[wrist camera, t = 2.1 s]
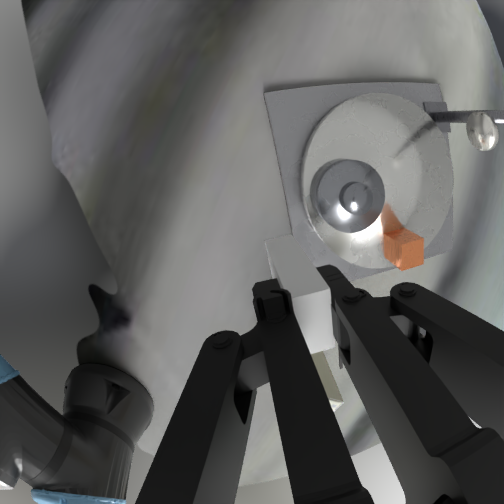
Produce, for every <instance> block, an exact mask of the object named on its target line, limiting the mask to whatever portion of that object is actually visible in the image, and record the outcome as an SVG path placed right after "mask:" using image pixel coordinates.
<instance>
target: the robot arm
mask: <svg viewBox="0 0 504 504" xmlns="http://www.w3.org/2000/svg"><path fill="white" fill-rule="evenodd" d="M264 241H265V246H266V250H267V255H268V260H269V265H270V269H271V274H272V279H270V280H266V281H262V282H257V283H255V285H254V287H253V288H252V291H253V296H254V299H253V305H254V309H255V313H256V317H257V321H258V322H257V324H256V326H255V327H254V328H253V329H252V330H251V331H249V332H247V333H245V334H243V335H241V336H240V335H239V334H238V333H237V332H234V331H227V330H225V331H220V332H217V333H215V334H212V335H211V336H209V337H208V338H207V339H206V340H205V342H204V343H203V346H202V348H201V350H200V352H199V355H198V357H197V359H196V362H195V364H194V366H193V369H192V371H191V373H190V376H189V378H188V380H187V382H186V385H185V387H184V389H183V392H182V394H181V396H180V399H179V401H178V403H177V406H176V408H175V410H174V413H173V415H172V417H171V420H170V422H169V424H168V427H167V429H166V431H165V434H164V436H163V439H162V441H161V443H160V446H159V448H158V450H157V453H156V455H155V457H154V460H153V462H152V465H151V467H150V469H149V472H148V474H147V476H146V479H145V481H144V483H143V486H142V489H141V491H140V493H139V495H138V498H137V500H136V503H135V504H234V502H235V497H236V493H237V488H238V484H239V479H240V474H241V470H242V465H243V460H244V455H245V450H246V445H247V440H248V435H249V430H250V425H251V420H252V415H253V410H254V404H255V399H256V394H257V389H256V388H258V387H260V386H262V385H264V384H266V383H268V382H270V387H271V392H272V397H273V402H274V407H275V412H276V417H277V422H278V426H279V431H280V436H281V441H282V446H283V451H284V456H285V461H286V466H287V470H288V475H289V479H290V485H291V489H292V494H293V499H294V504H374V502H373V499H372V497H371V495H370V494H369V492H368V490H367V489H365V488H364V487H363V486H362V484H361V482H360V480H359V478H358V475H357V472H356V470H355V467H354V464H353V462H352V459H351V456H350V454H349V451H348V448H347V446H346V443H345V440H344V438H343V435H342V433H341V430H340V427H339V425H338V422H337V420H336V417H335V414H334V412H333V409H332V407H331V404H330V402H329V399H328V397H327V394H326V391H325V389H324V386H323V384H322V381H321V379H320V376H319V374H318V371H317V369H316V366H315V364H314V361H313V359H312V356H311V354H313V353H317V352H320V351H324V350H328V349H331V348H334V347H335V339H336V341H337V343H338V349H339V366H340V369H341V368H343V365H342V363H343V364H344V366H345V368H346V370H347V372H348V374H349V376H350V378H351V380H352V382H353V384H354V386H355V388H356V390H357V392H358V394H359V396H360V398H361V400H362V402H363V404H364V406H365V408H366V410H367V413H368V415H369V417H370V419H371V421H372V423H373V425H374V427H375V429H376V432H377V434H378V436H379V438H380V440H381V442H382V444H383V447H384V449H385V451H386V453H387V455H388V457H389V460H390V462H391V464H392V466H393V468H394V471H395V473H396V475H397V477H398V480H399V482H400V484H401V486H402V489H403V491H404V494H405V498H406V504H504V331H502V330H500V329H499V328H497V327H495V326H493V325H492V324H490V323H488V322H486V321H485V320H483V319H481V318H479V317H478V316H476V315H474V314H472V313H470V312H469V311H467V310H465V309H463V308H461V307H459V306H458V305H456V304H454V303H452V302H450V301H448V300H447V299H445V298H443V297H441V296H439V295H437V294H435V293H433V292H432V291H430V290H428V289H426V288H424V287H422V286H420V285H418V284H415V283H409V282H405V283H404V282H403V283H400V284H397V285H395V286H394V287H392V288H391V291H390V296H387V297H372V296H371V295H370V294H369V293H368V292H367V291H366V290H363V289H360V288H354V286H353V285H352V284H351V283H350V282H349V280H348V279H347V278H346V277H345V276H344V275H343V273H342V272H341V271H340V270H339V269H338V268H337V267H335V266H333V265H330V264H328V265H324V266H320V267H316V268H315V266H314V265H313V263H312V262H311V261H310V259H309V258H308V256H307V255H306V254H305V252H304V251H303V249H302V248H301V247H300V245H299V244H298V243H297V241H296V240H295V238H294V237H293V236H292V234H290V235H285V236H281V237H277V238H272V239H268V240H264ZM420 327H421V328H423V329H424V330H426V335H425V336H424V335H422V334H421V333H420ZM19 374H20V373H19V371H18V370H15V369H14V368H13V367H12V366H11V365H10V364H9V363H8V362H7V361H6V360H5V359H4V358H3V357H2V356H1V354H0V490H4V489H5V490H6V489H13V488H14V486H15V484H16V483H17V481H18V479H19V478H20V479H22V480H23V481H25V482H26V483H28V484H29V485H30V486H32V487H33V489H32V490H31V495H32V498H33V500H34V501H35V502H37V503H39V504H125V503H126V500H125V499H126V493H127V486H128V480H129V474H130V468H131V463H132V457H133V452H134V447H135V445H136V443H137V442H138V440H139V439H140V437H141V436H142V434H143V432H144V431H145V430H146V429H147V428H148V426H149V425H150V423H151V420H152V416H153V411H154V405H153V401H152V398H151V397H150V395H149V393H148V392H147V391H146V389H145V388H144V387H143V386H142V385H141V384H140V383H138V382H137V381H136V380H135V379H133V378H132V377H130V376H129V375H127V374H125V373H124V372H122V371H119V370H117V369H115V368H112V367H109V366H106V365H101V364H92V363H89V364H82V365H79V366H77V367H76V368H74V369H73V370H72V371H71V373H70V375H69V376H68V379H67V380H66V383H65V388H64V393H65V397H64V404H63V415H61V414H60V413H59V412H58V411H56V410H55V409H54V408H53V407H52V406H50V404H49V403H47V402H46V401H45V400H44V399H43V398H42V397H41V396H40V395H39V394H38V393H37V392H36V391H35V390H34V389H33V388H32V387H31V386H30V385H29V384H28V383H27V382H26V381H25V380H24V379H23V378H22V377H21V376H20V375H19ZM468 416H469V417H470V418H471V419H472V420H473V421H475V422H476V423H477V424H478V425H479V426H481V427H482V428H477V427H476V426H475V425H474V424H473V423H472V421H471V420H470V418H469V417H468Z"/></svg>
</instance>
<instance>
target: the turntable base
mask: <svg viewBox="0 0 504 504" xmlns="http://www.w3.org/2000/svg"><path fill="white" fill-rule="evenodd" d="M369 93H388V94H393V95H397V96H400V97H403V98H405V99H407V100H409V101H411V102H413V103H415V104H416V105H417V106H419V107H420V108H421V109H423V110H424V111H425V108H424V103H423V102H442V96H441V91H440V87H439V84H432V83H411V82H369V83H346V84H332V85H320V86H311V87H302V88H294V89H286V90H279V91H273V92H266V93H264V94H263V95H264V99H265V103H266V108H267V112H268V117H269V121H270V126H271V130H272V135H273V139H274V144H275V149H276V154H277V158H278V163H279V168H280V173H281V178H282V183H283V188H284V193H285V199H286V204H287V209H288V215H289V220H290V225H291V231H292V236H293V237H294V238H295V240H296V241H297V243H298V244H299V245H300V247H301V248H302V249H303V251H304V252H305V254H306V255H307V256H308V258H309V259H310V261H311V262H312V263H313V265H314V266H315V268H316V267H320V266H324V265H328V264H330V265H333V266H335V267H337V268H338V269H339V270H340V271H341V272H342V273H343V275H344V276H345V277H346V278H347V279H348V280H349V281H353V280H356V279H360V278H363V277H367V276H370V275H374V274H377V273H381V272H384V271H388V270H391V269H394V268H397V267H396V266H392V267H388V268H378V269H375V268H365V267H361V266H357V265H355V264H352V263H349V262H348V261H346V260H344V259H342V258H341V257H339V256H338V255H337V254H335V253H334V252H333V251H332V250H331V249H330V248H329V247H328V246H327V245H326V244H325V243H324V242H323V241H322V240H321V239H320V237H319V236H318V235H317V233H316V232H315V230H314V229H313V227H312V225H311V223H310V221H309V219H308V216H307V214H306V211H305V208H304V204H303V200H302V194H301V185H300V183H301V166H302V159H303V156H304V152H305V148H306V146H307V143H308V141H309V138H310V136H311V134H312V133H313V131H314V129H315V128H316V126H317V125H318V123H319V122H320V121H321V120H322V118H323V117H324V116H325V115H326V114H327V113H328V112H329V111H331V110H332V109H333V108H334V107H336V106H337V105H339V104H340V103H342V102H344V101H346V100H348V99H351V98H354V97H357V96H360V95H364V94H369ZM442 134H443V136H444V138H445V141H446V143H447V146H448V149H449V141H448V133H447V132H443V133H442ZM449 151H450V149H449ZM452 241H453V194H452V199H451V204H450V207H449V211H448V214H447V216H446V218H445V221H444V223H443V225H442V227H441V229H440V230H439V232H438V233H437V235H436V236H435V238H434V239H433V240H432V241H431V242H430V244H429V245H428V246H427V247H426V248H425V249H424V259H426V258H430V257H433V256H436V255H439V254H442V253H445V252H448V251H451V250H452Z"/></svg>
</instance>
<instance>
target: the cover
mask: <svg viewBox="0 0 504 504" xmlns="http://www.w3.org/2000/svg"><path fill="white" fill-rule="evenodd" d="M310 201H311V204H312V207H313V209H314V211H315V212H316V213H317V215H318V216H319V217H320V218H321V219H323V220H324V221H325V222H326V223H328V224H329V225H330V226H332V227H333V228H334V229H336V230H338V231H340V232H344V233H357V232H360V231H363V230H365V229H367V228H368V227H370V226H371V225H372V224H373V223H374V222H375V221H376V220H377V219H378V217H379V216H380V214H381V212H382V209H383V206H384V202H385V188H384V184H383V181H382V179H381V177H380V175H379V174H378V172H377V171H376V170H375V169H374V168H373V167H372V166H370V165H369V164H367V163H365V162H362V161H358V160H352V159H344V158H339V159H334V160H331V161H328V162H327V163H325V164H323V165H322V166H321V167H320V168H319V169H318V170H317V172H316V173H315V175H314V176H313V179H312V181H311V185H310Z"/></svg>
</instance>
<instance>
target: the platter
mask: <svg viewBox="0 0 504 504" xmlns="http://www.w3.org/2000/svg"><path fill="white" fill-rule="evenodd" d="M339 158H344V159H352V160H358V161H362V162H365V163H367V164H369V165H370V166H372V167H373V168H374V169H375V170H376V171H377V172H378V174H379V175H380V177H381V179H382V181H383V184H384V188H385V202H384V206H383V209H382V212H381V214H380V216H379V217H378V219H377V220H376V221H375V222H374V223H373V224H372V225H371V226H370V227H368V228H367V229H365V230H363V231H360V232H357V233H344V232H340V231H338V230H336V229H334V228H333V227H332V226H330V225H329V224H328V223H326V222H325V221H324V220H323V219H321V218H320V217H319V216H318V215H317V213H316V212H315V211H314V209H313V207H312V204H311V201H310V185H311V181H312V179H313V176H314V175H315V173H316V172H317V170H318V169H319V168H320V167H321V166H322V165H323V164H325V163H327V162H328V161H331V160H334V159H339ZM300 185H301V194H302V200H303V204H304V208H305V211H306V214H307V216H308V219H309V221H310V223H311V225H312V227H313V229H314V230H315V232H316V233H317V235H318V236H319V237H320V239H321V240H322V241H323V242H324V243H325V244H326V245H327V246H328V247H329V248H330V249H331V250H332V251H333V252H334V253H335V254H337V255H338V256H339V257H341V258H342V259H344V260H346V261H348V262H349V263H352V264H355V265H357V266H361V267H365V268H375V269H378V268H388V267H392V266H396V267H397V268H399V269H400V270H401V271H403V270H406V269H409V268H413V267H416V266H419V265H422V264H423V263H424V249H425V248H426V247H427V246H428V245H429V244H430V242H431V241H432V240H433V239H434V238H435V236H436V235H437V233H438V232H439V230H440V229H441V227H442V225H443V223H444V221H445V218H446V216H447V214H448V211H449V207H450V204H451V199H452V194H453V166H452V160H451V155H450V151H449V149H448V146H447V143H446V141H445V138H444V136H443V134H442V132H441V131H440V129H439V128H438V126H437V124H436V123H435V122H434V121H433V119H432V118H431V117H430V116H429V115H428V114H427V113H426V112H425V111H424V110H423V109H421V108H420V107H419V106H417V105H416V104H415V103H413V102H411V101H409V100H407V99H405V98H403V97H400V96H397V95H393V94H388V93H369V94H364V95H360V96H357V97H354V98H351V99H348V100H346V101H344V102H342V103H340V104H339V105H337V106H336V107H334V108H333V109H332V110H331V111H329V112H328V113H327V114H326V115H325V116H324V117H323V118H322V120H321V121H320V122H319V123H318V125H317V126H316V128H315V129H314V131H313V133H312V134H311V136H310V138H309V141H308V143H307V146H306V148H305V152H304V156H303V159H302V166H301V183H300Z"/></svg>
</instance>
